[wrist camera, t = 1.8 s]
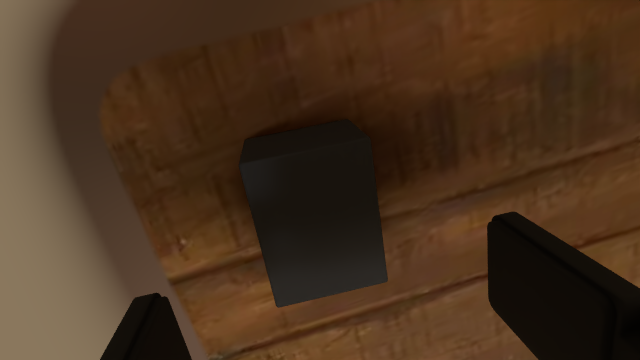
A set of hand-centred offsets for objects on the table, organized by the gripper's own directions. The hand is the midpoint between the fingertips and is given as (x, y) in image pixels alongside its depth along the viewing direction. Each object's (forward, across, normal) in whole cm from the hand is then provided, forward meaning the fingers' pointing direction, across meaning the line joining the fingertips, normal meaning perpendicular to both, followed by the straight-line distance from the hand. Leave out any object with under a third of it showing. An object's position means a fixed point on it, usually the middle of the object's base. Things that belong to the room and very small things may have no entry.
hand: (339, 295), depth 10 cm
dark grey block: (+7, 0, -1) cm, 7 cm away
